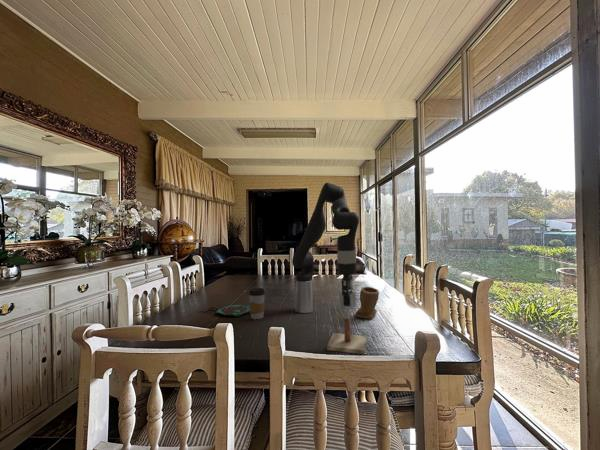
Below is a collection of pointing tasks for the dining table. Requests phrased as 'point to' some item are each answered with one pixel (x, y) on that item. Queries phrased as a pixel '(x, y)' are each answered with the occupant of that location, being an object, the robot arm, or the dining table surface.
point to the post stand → (347, 341)
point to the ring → (352, 299)
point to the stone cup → (367, 302)
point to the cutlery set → (235, 310)
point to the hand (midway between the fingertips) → (347, 303)
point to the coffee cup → (257, 302)
